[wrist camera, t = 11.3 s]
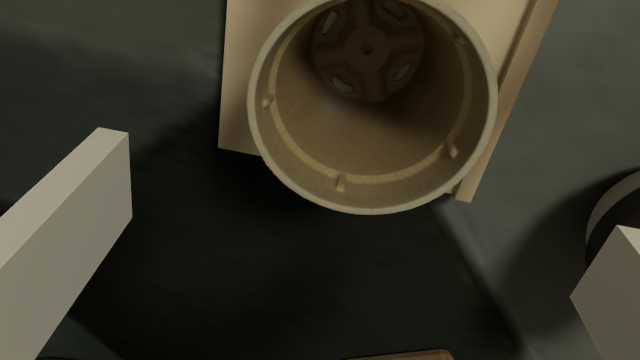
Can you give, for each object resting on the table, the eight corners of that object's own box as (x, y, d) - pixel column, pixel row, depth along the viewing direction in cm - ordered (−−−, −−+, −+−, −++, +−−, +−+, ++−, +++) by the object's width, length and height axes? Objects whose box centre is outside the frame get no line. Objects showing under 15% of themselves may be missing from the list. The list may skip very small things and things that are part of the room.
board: (224, 136, 30) (215, 152, 29) (245, -166, 22) (234, -169, 20) (464, 183, 31) (470, 202, 29) (581, -94, 22) (599, -92, 20)
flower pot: (485, -34, 22) (541, 8, 15) (432, 138, 27) (455, 231, 20) (290, -66, 22) (253, -39, 15) (274, 113, 27) (240, 196, 20)
